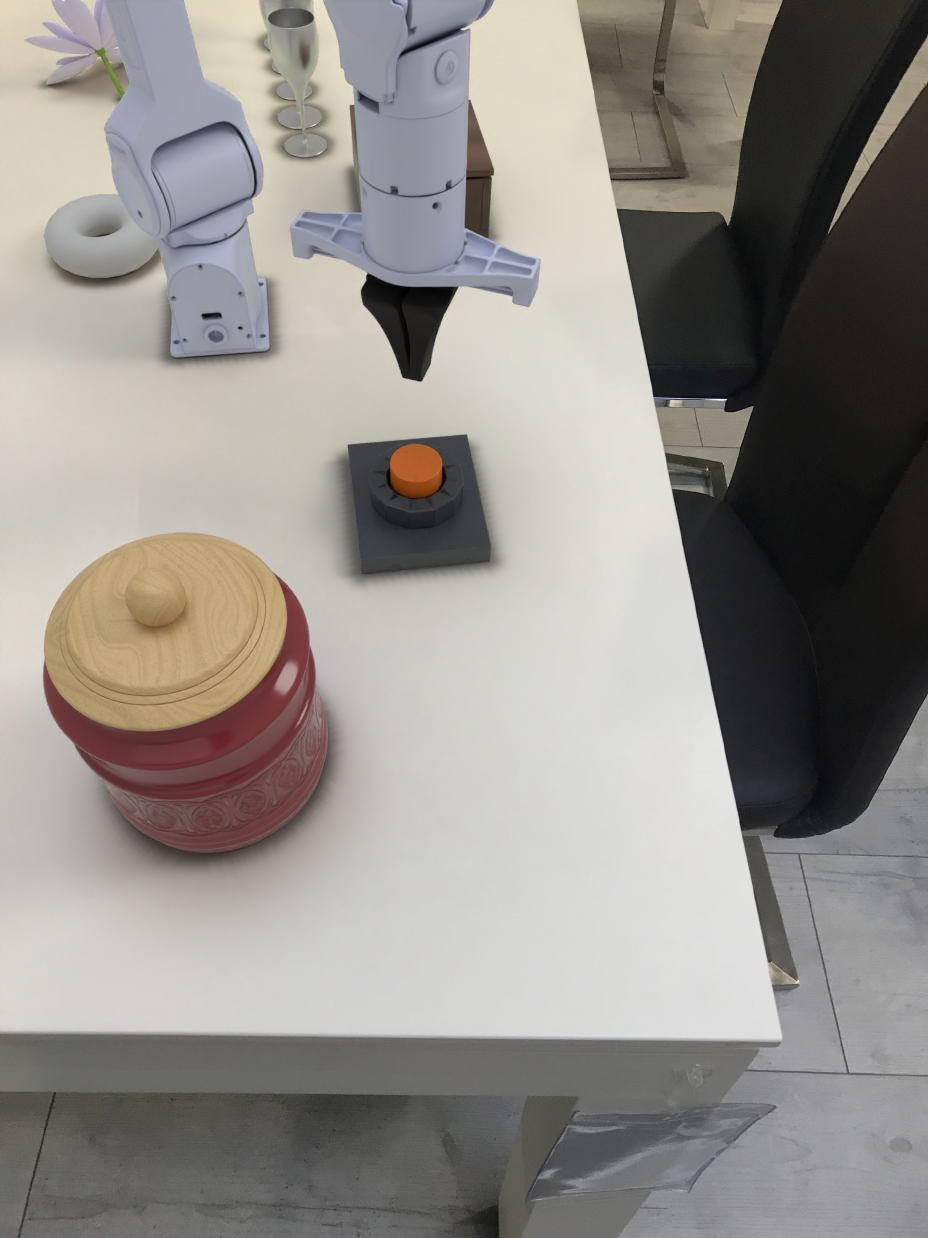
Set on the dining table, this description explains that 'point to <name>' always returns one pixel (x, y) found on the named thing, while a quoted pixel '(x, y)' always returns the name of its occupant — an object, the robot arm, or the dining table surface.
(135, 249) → the donut
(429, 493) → the button
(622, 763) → the dining table surface
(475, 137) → the lid
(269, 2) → the goblet set
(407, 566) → the control block
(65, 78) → the water lily
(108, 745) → the kitchen canister
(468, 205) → the brown wooden box
